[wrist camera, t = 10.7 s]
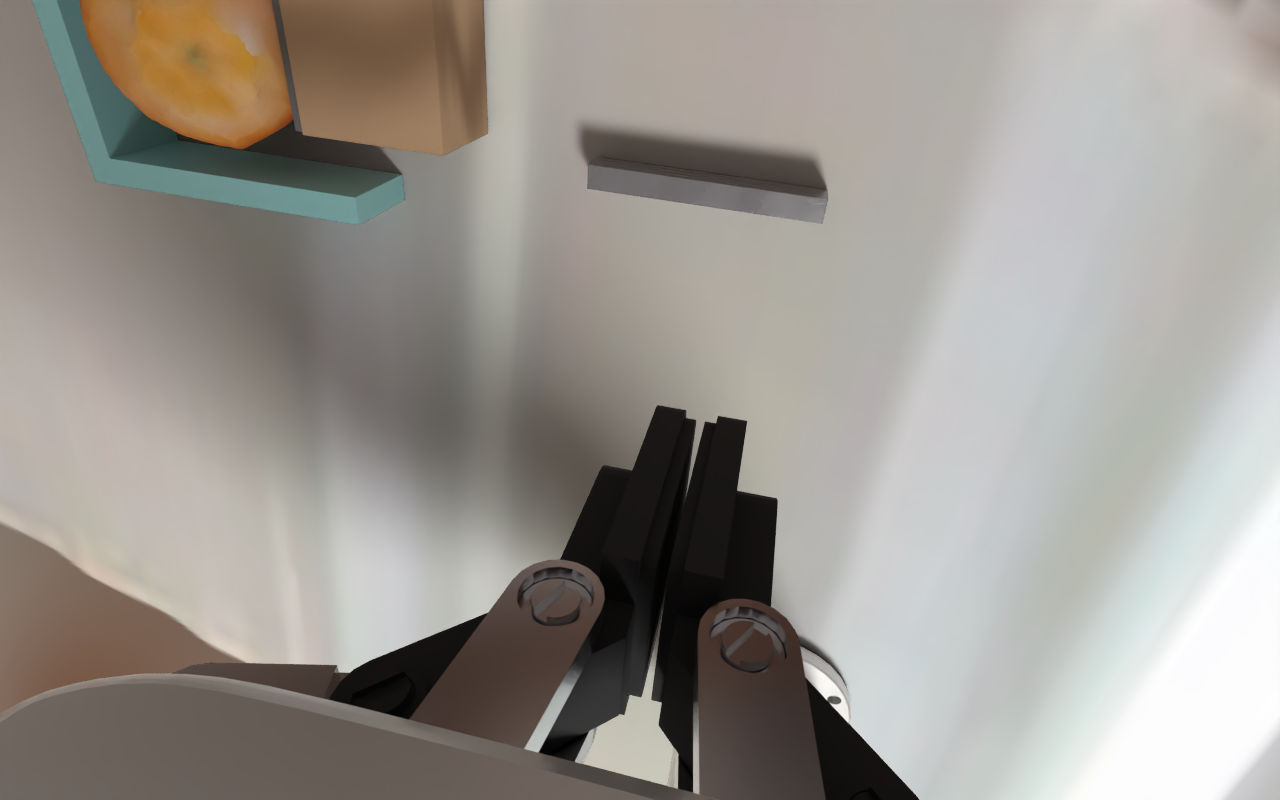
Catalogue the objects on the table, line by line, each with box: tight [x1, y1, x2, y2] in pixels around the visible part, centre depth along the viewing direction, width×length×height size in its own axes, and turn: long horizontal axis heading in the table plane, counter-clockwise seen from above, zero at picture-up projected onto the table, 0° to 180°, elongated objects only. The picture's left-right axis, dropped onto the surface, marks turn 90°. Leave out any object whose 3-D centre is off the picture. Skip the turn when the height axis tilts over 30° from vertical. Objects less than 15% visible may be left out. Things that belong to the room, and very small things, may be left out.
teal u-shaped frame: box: [32, 0, 405, 225], centre depth 28 cm, size 14×13×4 cm
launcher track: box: [587, 157, 828, 224], centre depth 26 cm, size 10×10×2 cm
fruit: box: [79, 0, 293, 149], centre depth 28 cm, size 8×8×8 cm
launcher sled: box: [272, 0, 488, 156], centre depth 27 cm, size 7×7×4 cm
